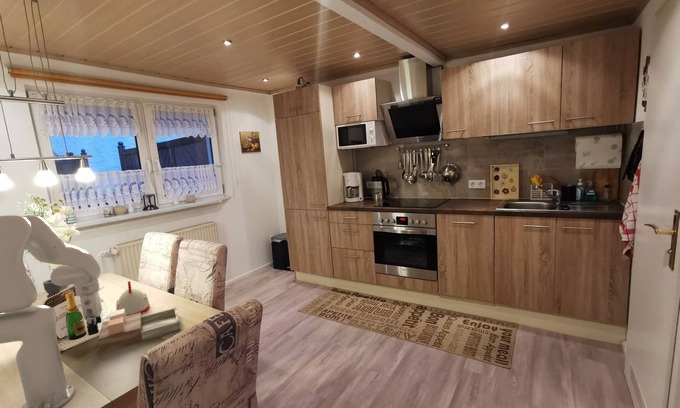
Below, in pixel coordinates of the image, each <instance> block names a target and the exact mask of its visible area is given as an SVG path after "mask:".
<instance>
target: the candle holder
mask: <svg viewBox="0 0 680 408" xmlns="http://www.w3.org/2000/svg"><path fill="white" fill-rule="evenodd" d="M42 285H43V289H44V290H45V292H46V293H47V295H46V298H47V299H49V297H51V296H53V295H55V294H57V293H59V292H60V291H61V290H62V287H63V286H58V285H55V284H53V283H52V282H51V279H48V280H45V281H43V282H42ZM57 340H60V338H59V337H58V336H57Z"/></svg>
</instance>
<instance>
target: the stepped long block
mask: <svg viewBox="0 0 680 408" xmlns="http://www.w3.org/2000/svg"><path fill="white" fill-rule="evenodd" d="M109 321H110V320H106V321H103V322H101V326H100V327H101V328H100V330H99V333H98V334H99V335H98V338H97V341H98V347H99V353H100V355H102V354H105V353H108V352H112V351H116V350H118V349H122V348H125V347H129V346H132V345H135V344H139V343H141V342H146V341H149V340H152V339H155V338H156V339H157V338H159V337H162V336H166V335H169V334H172V333H176V332H179V331H181V326H180V320H179V315H178V311H177V307H173V308H170V309H166V310H162V311H158V312H153V313H150V314H147V315H146V314H145V315H143V316H142V314H141V313H137V314H133V315H129V316H126V322H124V323H125V330H124V332H120V333H116V334H113V335H109V331H108V322H109Z"/></svg>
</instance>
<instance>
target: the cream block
mask: <svg viewBox="0 0 680 408" xmlns="http://www.w3.org/2000/svg"><path fill="white" fill-rule="evenodd" d="M121 317H124V322H126V313H125V309H121V310H117V311H116V310H113V311H110V314H109V321H110V320H114V319H118V318H121Z"/></svg>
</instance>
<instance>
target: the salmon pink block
mask: <svg viewBox="0 0 680 408" xmlns="http://www.w3.org/2000/svg"><path fill="white" fill-rule="evenodd" d="M108 321H109V322H108V331H109V335H113V334H116V333H120V332H124V330H125V323H124V317H121V318H118V319H114V320H110V319H109V320H108Z"/></svg>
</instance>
